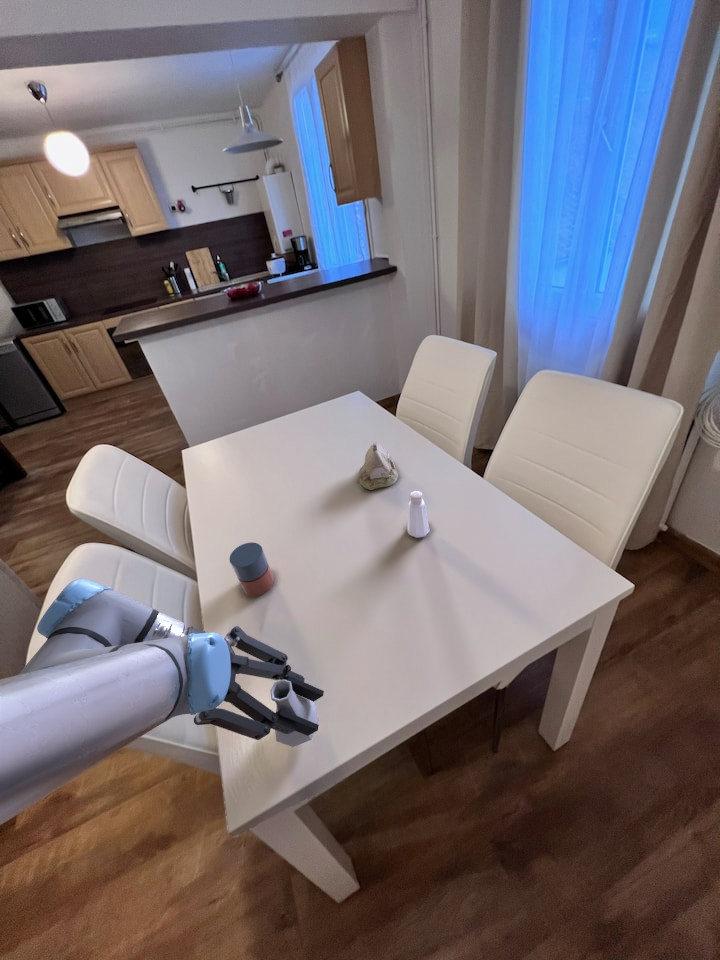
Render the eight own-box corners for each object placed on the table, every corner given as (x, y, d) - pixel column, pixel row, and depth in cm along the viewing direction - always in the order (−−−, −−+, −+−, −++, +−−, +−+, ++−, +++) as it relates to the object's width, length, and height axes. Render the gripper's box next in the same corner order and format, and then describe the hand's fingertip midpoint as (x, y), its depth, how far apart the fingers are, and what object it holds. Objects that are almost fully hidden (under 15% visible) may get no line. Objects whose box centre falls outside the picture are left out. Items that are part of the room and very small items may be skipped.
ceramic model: (399, 487, 111) (396, 457, 105) (359, 491, 112) (353, 461, 106) (396, 460, 122) (393, 431, 117) (360, 463, 123) (355, 435, 118)
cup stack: (262, 600, 86) (249, 570, 80) (236, 591, 89) (222, 562, 83) (280, 575, 91) (268, 546, 85) (255, 568, 94) (243, 539, 88)
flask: (316, 747, 60) (302, 715, 55) (269, 748, 61) (250, 717, 55) (321, 697, 66) (308, 664, 60) (278, 699, 67) (262, 667, 61)
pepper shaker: (434, 531, 95) (433, 495, 89) (415, 541, 94) (413, 505, 87) (420, 519, 99) (418, 484, 93) (402, 528, 98) (399, 493, 91)
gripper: (150, 709, 45) (320, 773, 52) (209, 587, 59) (337, 650, 66) (129, 729, 49) (290, 786, 56) (189, 610, 63) (312, 667, 70)
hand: (315, 712), depth 61 cm, fingers closed on flask, 4 cm apart
